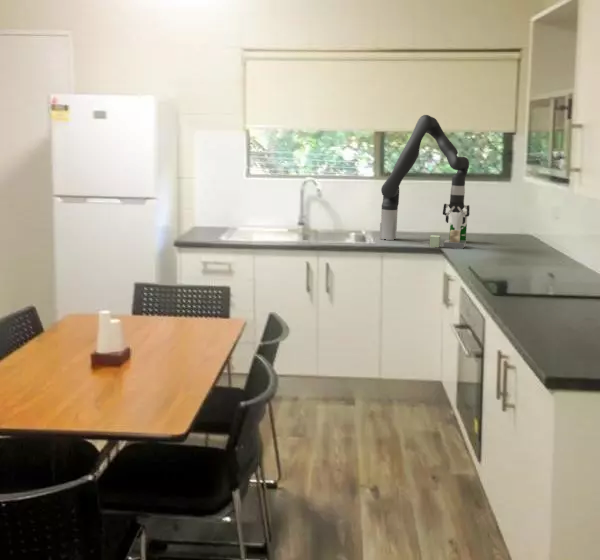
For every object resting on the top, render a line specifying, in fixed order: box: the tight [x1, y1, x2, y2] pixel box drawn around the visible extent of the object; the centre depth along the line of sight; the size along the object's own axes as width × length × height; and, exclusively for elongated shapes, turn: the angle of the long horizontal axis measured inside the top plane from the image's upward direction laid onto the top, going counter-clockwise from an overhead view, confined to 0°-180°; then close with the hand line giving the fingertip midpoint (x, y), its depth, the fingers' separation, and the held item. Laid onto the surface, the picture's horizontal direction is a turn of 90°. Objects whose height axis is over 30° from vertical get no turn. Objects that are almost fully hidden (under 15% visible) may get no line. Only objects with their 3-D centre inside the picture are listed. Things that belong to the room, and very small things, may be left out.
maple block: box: [449, 230, 460, 242], centre depth 463 cm, size 5×5×6 cm
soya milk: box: [448, 209, 468, 242], centre depth 481 cm, size 9×9×20 cm
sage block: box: [429, 234, 441, 248], centre depth 462 cm, size 5×5×6 cm
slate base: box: [443, 239, 467, 249], centre depth 464 cm, size 11×11×3 cm
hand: (455, 223), depth 461 cm, fingers open, 8 cm apart
